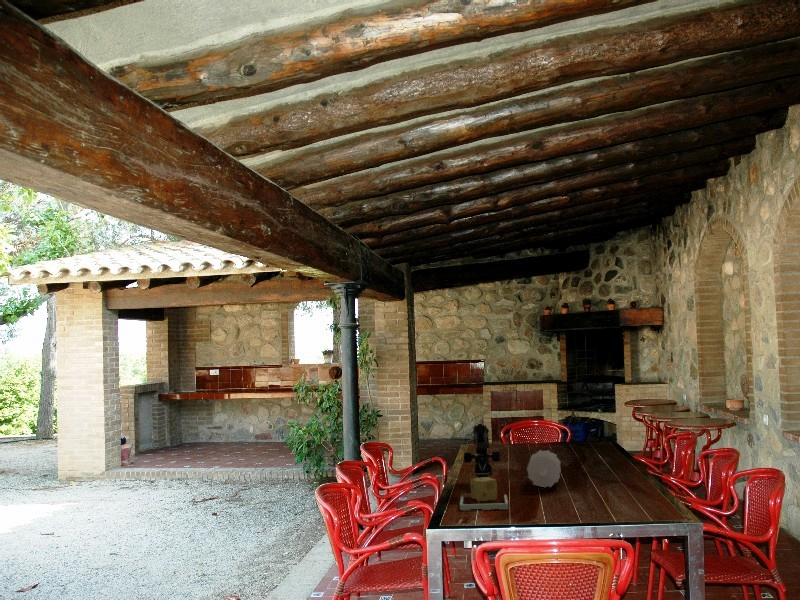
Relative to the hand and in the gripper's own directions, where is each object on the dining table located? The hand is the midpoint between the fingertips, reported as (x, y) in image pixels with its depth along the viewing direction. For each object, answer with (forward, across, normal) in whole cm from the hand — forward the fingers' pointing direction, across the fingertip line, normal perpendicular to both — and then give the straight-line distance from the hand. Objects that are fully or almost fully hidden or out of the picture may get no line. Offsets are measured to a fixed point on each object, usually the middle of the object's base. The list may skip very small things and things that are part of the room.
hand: (482, 470), depth 362 cm
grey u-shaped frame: (+25, 0, -8) cm, 27 cm away
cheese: (+16, 0, +2) cm, 16 cm away
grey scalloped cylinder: (-5, +33, +23) cm, 40 cm away
